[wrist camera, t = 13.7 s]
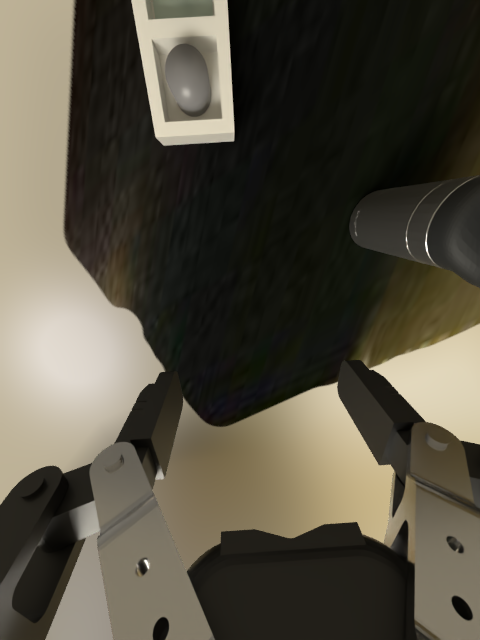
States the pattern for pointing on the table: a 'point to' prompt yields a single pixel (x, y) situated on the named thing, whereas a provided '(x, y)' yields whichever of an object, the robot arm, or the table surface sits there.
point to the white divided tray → (187, 69)
